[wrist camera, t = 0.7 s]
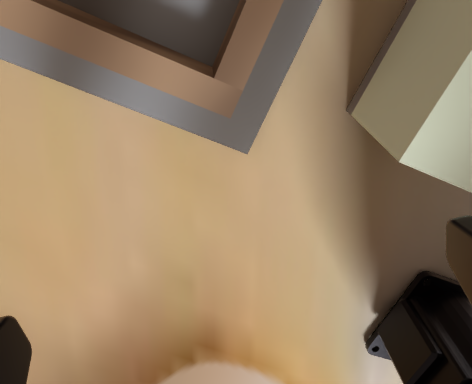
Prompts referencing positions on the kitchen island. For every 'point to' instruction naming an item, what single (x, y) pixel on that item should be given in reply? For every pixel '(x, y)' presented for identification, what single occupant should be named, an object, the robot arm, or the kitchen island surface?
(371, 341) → the robot arm
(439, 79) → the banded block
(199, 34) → the socket
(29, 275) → the kitchen island surface
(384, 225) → the kitchen island surface
